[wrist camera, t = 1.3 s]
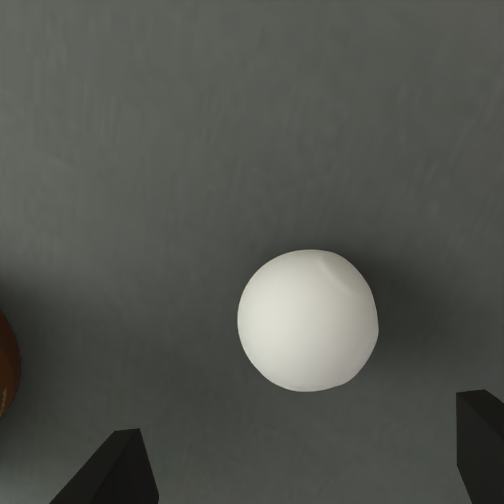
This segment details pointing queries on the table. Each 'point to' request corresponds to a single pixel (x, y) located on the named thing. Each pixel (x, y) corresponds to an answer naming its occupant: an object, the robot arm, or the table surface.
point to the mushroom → (308, 320)
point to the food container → (8, 365)
